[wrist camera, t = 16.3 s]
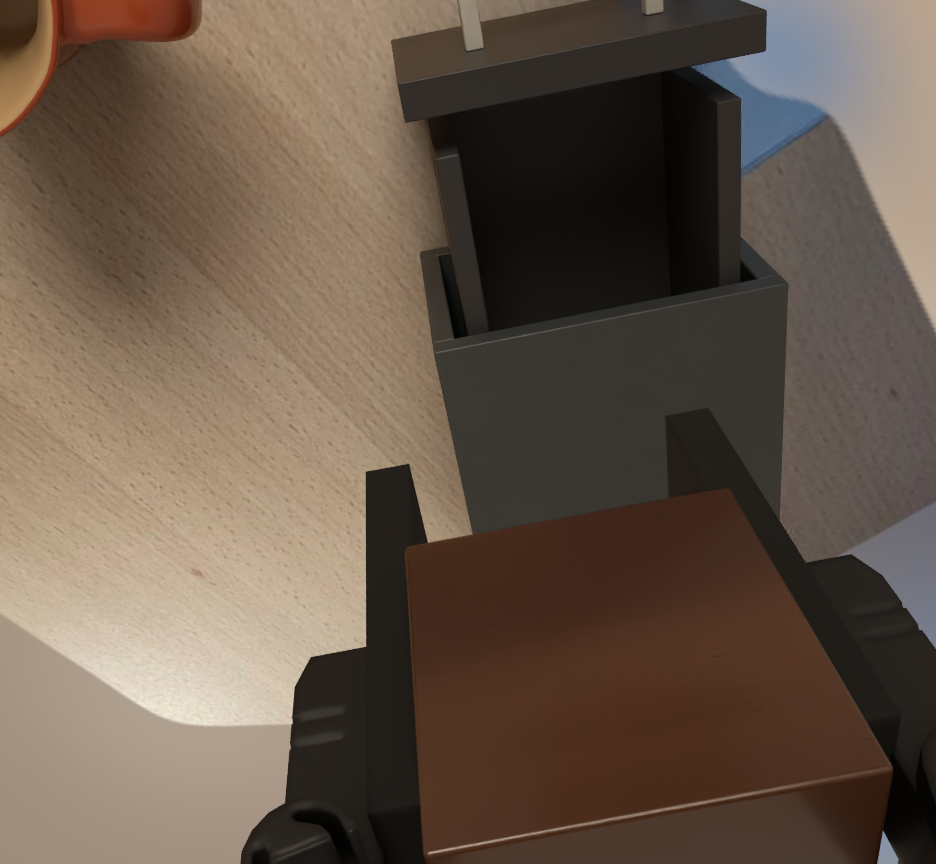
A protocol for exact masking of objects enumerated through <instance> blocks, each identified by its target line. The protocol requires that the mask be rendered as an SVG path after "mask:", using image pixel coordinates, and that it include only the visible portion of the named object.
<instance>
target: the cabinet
mask: <svg viewBox="0 0 936 864" xmlns="http://www.w3.org/2000/svg"><path fill="white" fill-rule="evenodd" d="M420 258H421V265H422V272H423V279H424V286H425V293H426V300H427V307H428V314H429V322H430V329H431V336H432V343H433V350H434V356H435V360H436V365H437V370H438V374H439V379H440V384H441V388H442V393H443V398H444V402H445V407H446V412H447V416H448V421H449V426H450V430H451V435H452V440H453V444H454V449H455V454H456V458H457V463H458V468H459V472H460V477H461V482H462V486H463V491H464V496H465V500H466V505H467V510H468V514H469V519H470V524H471V528H472V533H473V534H478V533H484V532H489V531H494V530H500V529H505V528H510V527H516V526H521V525H526V524H532V523H537V522H543V521H548V520H553V519H559V518H564V517H569V516H575V515H580V514H585V513H591V512H596V511H601V510H607V509H612V508H618V507H623V506H628V505H634V504H639V503H644V502H650V501H655V500H660V499H666V498H668V474H667V449H666V425H665V416H667V415H673V414H678V413H683V412H689V411H694V410H699V409H705V408H709V410H710V411H711V413H712V414H713V416H714V418H715V419H716V421H717V422H718V424H719V426H720V427H721V429H722V430H723V432H724V433H725V435H726V437H727V438H728V440H729V441H730V443H731V445H732V446H733V448H734V449H735V451H736V453H737V454H738V456H739V457H740V459H741V460H742V462H743V464H744V465H745V467H746V468H747V470H748V472H749V473H750V475H751V476H752V478H753V480H754V481H755V483H756V484H757V486H758V487H759V489H760V491H761V492H762V494H763V495H764V497H765V499H766V500H767V502H768V503H769V505H770V507H771V508H772V510H773V511H774V513H775V514H776V516H777V518H778V519H779V521H780V496H781V468H782V441H783V413H784V386H785V358H786V331H787V304H788V283H787V282H786V281H785V280H784V279H783V278H782V277H781V276H780V275H778V273H777V272H776V271H775V270H774V269H773V268H772V267H771V266H770V265H769V264H768V263H767V262H766V261H765V260H764V259H763V258H762V257H761V256H760V255H759V254H758V253H757V252H756V251H755V250H754V249H753V248H752V247H751V246H750V245H749V244H748V243H747V242H746V241H745V240H744V239H742V238H741V237H740V283H737V284H731V285H726V286H721V287H716V288H711V289H706V290H701V291H696V292H691V293H686V294H681V295H675V296H670V297H665V298H660V299H655V300H650V301H645V302H640V303H635V304H630V305H625V306H620V307H614V308H609V309H604V310H599V311H594V312H589V313H584V314H579V315H574V316H569V317H564V318H558V319H553V320H548V321H543V322H538V323H533V324H528V325H523V326H518V327H513V328H508V329H502V330H497V331H492V332H487V333H482V334H477V335H472V336H467V337H466V334H465V329H464V323H463V318H462V313H461V308H460V302H459V297H458V292H457V286H456V281H455V276H454V271H453V265H452V260H451V255H450V250H449V246H448V247H443V248H438V249H433V250H428V251H423V252H420Z"/></svg>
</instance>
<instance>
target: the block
mask: <svg viewBox="0 0 936 864" xmlns="http://www.w3.org/2000/svg"><path fill="white" fill-rule="evenodd" d="M405 561H406V578H407V596H408V613H409V630H410V647H411V664H412V681H413V698H414V715H415V732H416V749H417V766H418V783H419V800H420V817H421V834H422V851H423V857H424V860H425V863H426V864H877V861H878V856H879V850H880V844H881V839H882V833H883V827H884V822H885V816H886V810H887V805H888V799H889V793H890V788H891V782H892V776H893V767H892V765H891V763H890V762H889V760H888V758H887V756H886V755H885V753H884V751H883V750H882V748H881V746H880V744H879V743H878V741H877V739H876V738H875V736H874V734H873V732H872V731H871V729H870V727H869V726H868V724H867V722H866V720H865V719H864V717H863V715H862V714H861V712H860V710H859V708H858V707H857V705H856V703H855V702H854V700H853V698H852V697H851V695H850V693H849V691H848V690H847V688H846V686H845V685H844V683H843V681H842V679H841V678H840V676H839V674H838V673H837V671H836V669H835V667H834V666H833V664H832V662H831V661H830V659H829V657H828V655H827V654H826V652H825V650H824V649H823V647H822V645H821V643H820V642H819V640H818V638H817V637H816V635H815V633H814V631H813V630H812V628H811V626H810V625H809V623H808V621H807V619H806V618H805V616H804V614H803V613H802V611H801V609H800V607H799V606H798V604H797V602H796V601H795V599H794V597H793V596H792V594H791V592H790V590H789V589H788V587H787V585H786V584H785V582H784V580H783V578H782V577H781V575H780V573H779V572H778V570H777V568H776V566H775V565H774V563H773V561H772V560H771V558H770V556H769V554H768V553H767V551H766V549H765V548H764V546H763V544H762V542H761V541H760V539H759V537H758V536H757V534H756V532H755V530H754V529H753V527H752V525H751V524H750V522H749V520H748V518H747V517H746V515H745V513H744V512H743V510H742V508H741V506H740V505H739V503H738V501H737V500H736V498H735V496H734V495H733V493H732V491H731V489H730V488H727V487H725V488H719V489H714V490H709V491H703V492H698V493H692V494H687V495H682V496H676V497H671V498H666V499H660V500H655V501H650V502H644V503H639V504H634V505H628V506H623V507H618V508H612V509H607V510H601V511H596V512H591V513H585V514H580V515H575V516H569V517H564V518H559V519H553V520H548V521H543V522H537V523H532V524H526V525H521V526H516V527H510V528H505V529H500V530H494V531H489V532H484V533H478V534H473V535H468V536H462V537H457V538H452V539H446V540H441V541H435V542H430V543H425V544H419V545H414V546H409V547H407V548H406V550H405Z"/></svg>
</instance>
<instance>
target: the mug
mask: <svg viewBox="0 0 936 864" xmlns="http://www.w3.org/2000/svg"><path fill="white" fill-rule="evenodd" d="M201 17H202V0H0V138H1V137H2V136H4V135H5V134H7V133H8V132H10V131H11V130H13V129H14V128H15V127H16V126H17V125H18V124H20V123H21V122H22V121H23V120H24V119H25V118H26V117H27V115H28V114H29V113H30V112H31V111H32V110H33V108H34V107H35V106H36V104H37V103H38V102H39V100H40V99H41V97H42V96H43V94H44V93H45V91H46V89H47V88H48V86H49V84H50V82H51V80H52V78H53V76H54V73H55V70H56V68H58V67H60V66H62V65H64V64H65V63H67V62H68V61H69V60H71V59H72V58H73V57H74V56H75V55H77V54H78V53H79V52H80V51H81V49H83V48H84V47H85V46H86V44H89V43H93V42H96V41H100V40H108V39H119V40H132V41H145V42H170V41H177V40H182V39H186V38H188V37H189V36H191V35H193V34H194V33H195V32H196V31H197V30H198V28H199V26H200V23H201Z"/></svg>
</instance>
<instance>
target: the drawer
mask: <svg viewBox="0 0 936 864" xmlns="http://www.w3.org/2000/svg"><path fill="white" fill-rule="evenodd" d="M457 2H458V9H459V15H460V21H461V26H460V27H455V28H450V29H445V30H440V31H435V32H430V33H425V34H420V35H415V36H410V37H405V38H400V39H395V40H392V41H391V44H392V51H393V57H394V64H395V71H396V78H397V84H398V89H399V94H400V99H401V104H402V109H403V114H404V119H405V122H406V123H408V122H413V121H418V120H423V119H425V123H426V128H427V133H428V139H429V144H430V149H431V154H432V160H433V165H434V170H435V176H436V181H437V186H438V191H439V197H440V202H441V207H442V213H443V218H444V223H445V228H446V234H447V239H448V244H449V250H450V255H451V260H452V265H453V271H454V276H455V281H456V286H457V292H458V297H459V302H460V308H461V313H462V318H463V323H464V329H465V334H466V337H467V336H472V335H477V334H482V333H487V332H492V331H497V330H502V329H508V328H513V327H518V326H523V325H528V324H533V323H538V322H543V321H548V320H553V319H558V318H564V317H569V316H574V315H579V314H584V313H589V312H594V311H599V310H604V309H609V308H614V307H620V306H625V305H630V304H635V303H640V302H645V301H650V300H655V299H660V298H665V297H670V296H675V295H681V294H686V293H691V292H696V291H701V290H706V289H711V288H716V287H721V286H726V285H731V284H737V283H740V224H741V98H739V97H738V96H736V95H735V94H733V93H731V92H730V91H728V90H727V89H725V88H724V87H722V86H720V85H719V84H717V83H716V82H714V81H712V80H711V79H709V78H708V77H706V76H704V75H703V74H701V73H700V72H698V71H696V70H695V69H693V68H692V67H690V66H694V65H699V64H704V63H710V62H715V61H720V60H725V59H730V58H734V57H739V56H745V55H749V54H755V53H760V52H764V51H766V15H767V11H766V10H765V9H762V8H759V7H756V6H754V5H751V4H748V3H746V2H742V1H740V0H590V1H585V2H580V3H575V4H570V5H565V6H560V7H555V8H550V9H545V10H540V11H535V12H530V13H525V14H520V15H515V16H510V17H505V18H500V19H495V20H490V21H485V22H480V16H479V9H478V2H477V0H457Z"/></svg>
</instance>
